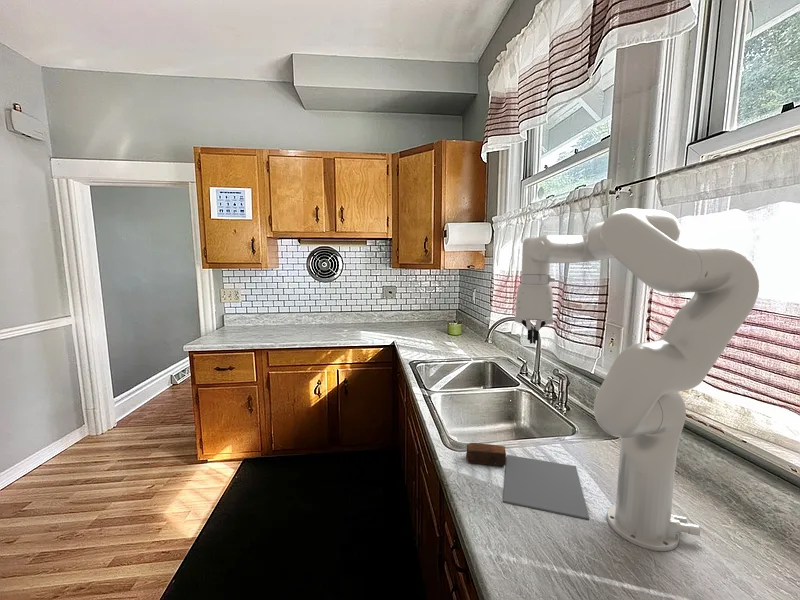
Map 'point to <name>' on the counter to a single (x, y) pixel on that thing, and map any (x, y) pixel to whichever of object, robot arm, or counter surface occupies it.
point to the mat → (544, 486)
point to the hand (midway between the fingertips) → (532, 342)
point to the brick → (486, 454)
